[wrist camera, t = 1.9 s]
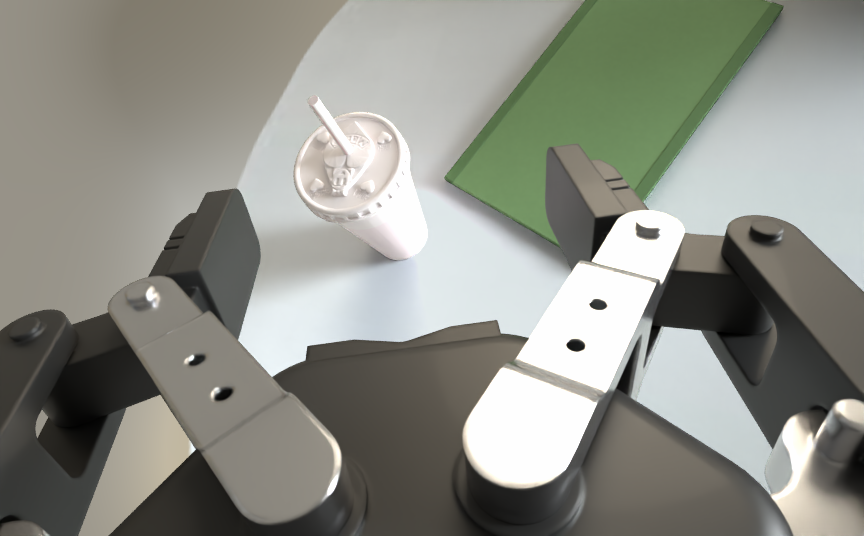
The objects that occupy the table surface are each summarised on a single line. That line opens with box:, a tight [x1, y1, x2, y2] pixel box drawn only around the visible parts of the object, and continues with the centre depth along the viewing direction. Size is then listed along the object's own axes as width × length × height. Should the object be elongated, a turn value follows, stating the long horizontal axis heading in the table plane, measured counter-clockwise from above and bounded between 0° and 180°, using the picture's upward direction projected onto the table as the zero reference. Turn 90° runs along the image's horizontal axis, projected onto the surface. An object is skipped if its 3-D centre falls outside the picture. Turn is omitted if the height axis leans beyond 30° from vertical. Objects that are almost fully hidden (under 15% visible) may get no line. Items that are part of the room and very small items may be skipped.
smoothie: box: [294, 95, 427, 260], centre depth 31 cm, size 6×6×14 cm
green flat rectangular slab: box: [444, 0, 784, 248], centre depth 37 cm, size 22×12×1 cm, turn 141°
